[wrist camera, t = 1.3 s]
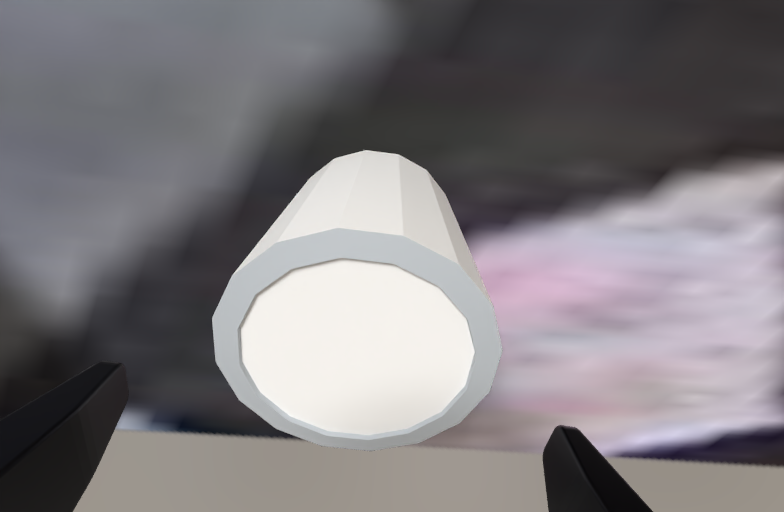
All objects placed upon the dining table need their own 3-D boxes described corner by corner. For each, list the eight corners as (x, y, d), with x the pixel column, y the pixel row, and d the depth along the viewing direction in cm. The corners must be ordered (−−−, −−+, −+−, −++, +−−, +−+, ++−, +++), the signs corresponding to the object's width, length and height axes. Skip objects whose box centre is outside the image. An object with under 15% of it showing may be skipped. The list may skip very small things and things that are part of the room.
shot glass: (509, 218, 17) (566, 352, 11) (384, 330, 20) (375, 487, 14) (359, 86, 15) (326, 162, 9) (242, 233, 18) (156, 367, 12)
